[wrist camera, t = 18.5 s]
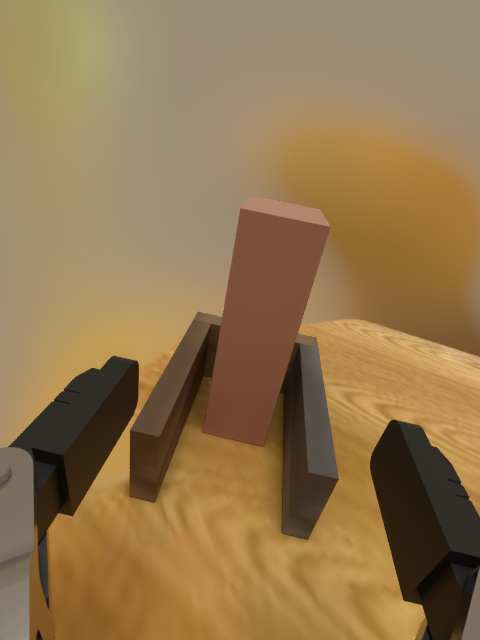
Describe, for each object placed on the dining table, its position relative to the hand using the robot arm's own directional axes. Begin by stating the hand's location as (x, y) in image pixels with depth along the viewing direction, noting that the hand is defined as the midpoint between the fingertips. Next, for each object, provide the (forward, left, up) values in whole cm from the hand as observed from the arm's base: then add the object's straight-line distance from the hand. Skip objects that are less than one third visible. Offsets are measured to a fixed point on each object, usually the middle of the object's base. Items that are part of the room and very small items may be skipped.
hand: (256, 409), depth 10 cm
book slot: (0, -9, -12) cm, 15 cm away
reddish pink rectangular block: (0, -11, -12) cm, 16 cm away
